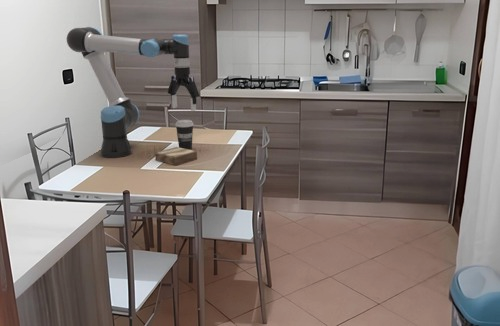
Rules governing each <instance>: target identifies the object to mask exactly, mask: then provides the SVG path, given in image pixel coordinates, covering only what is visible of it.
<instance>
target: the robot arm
mask: <svg viewBox="0 0 500 326" xmlns="http://www.w3.org/2000/svg"><path fill="white" fill-rule="evenodd" d="M189 42H190V41H189V36H188V35H187V34H173V35H172V38H151V39H146V38H145V39H144V38H143V39H142V38H135V37H125V36H124V37H123V36H114V35H103V33H102V32H101V31H100V30H99V29H98V28H96V27H91V26H87V27H74V28H72V29H70V30H69V32H67V35H66V44H67V46H68V47H69V48H70V50H72V51H73V52H76V53H81V55H82V57H83V59H85V60H87V61H88V62H89V64H90V66H91V69H92V70H93V72H94V74H95V77H96V78H97V80H98V83H99V85H100V87H101V89H102V91H103V92H104V95H105V97H106V99H107V100H108V102H109V104H108V106H106V107H104V108H102V109H101V111H100V119H101V131H102V132H101V133H102V143H101V148H100V156H101V157H104V158H121V157H126V156H129V155H131V154H132V152H133V150H132V147H131V144H130V141H129V138H128V132H127V129H128V128H131V127H133V126H134V125H136V124H137V122H138V121H139V119H140V110H139V108H138V107H137V106H136V104H133V103H132V102H131V99H130V98H129V97H126V95H125V92H123V90H122V87H121V85H120V84H119V82H118V79H117V77H116V75H115V73H114V71H113V68H112V66H111V64H110V63H109V61H108V59H107V56H106V54H105V52H106V53H108V52H109V53H115V54H116V53H117V54H125V55H136V56H145V57H148V58H154V57H157V56H161V55H173V61H174V62H173V64H174V75H171V77H170V78H171V79H170V83H169V85H168V91H167V94H169V95H170V98H171V99H170V100H171V107H172V109H175V108H178V99H177V98H178V97H177V91H178V90H179V88H180V87H181V86H182V87H184V88H186V90H187V92H188V93H189V95H190V96H191V97H190V111H191V112H194V111H197V98H198V97H200V92H199V90H198V87H197V84H196V82H195V77H194V76H192V77H191V76H190V75H191V71H190V70H191V69H190V65H191V64H190V63H191V62H190V43H189Z"/></svg>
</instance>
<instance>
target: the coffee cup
mask: <svg viewBox="0 0 500 326" xmlns="http://www.w3.org/2000/svg"><path fill="white" fill-rule="evenodd" d="M194 124H195V123H194V122H193V121H192V119H179V120H177V121H176V123H175V125H174V126H175V128H176V136H177V141H178V142H177V143H178V147H179V148H184V149H188V150H193V137H194V136H193V133H194V132H193V131H194V126H195V125H194Z"/></svg>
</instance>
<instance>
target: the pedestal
mask: <svg viewBox="0 0 500 326" xmlns="http://www.w3.org/2000/svg"><path fill="white" fill-rule="evenodd" d="M154 156H155V161H157V162H161V163H164V164H168V165H172V166H179V165H183V164H186V163H188V162H192V161H194V160H198V153H197V151H195V150H193V149H192V150H188V149H184V148H179V146H176V147H171V148H168V149H164V150H161V151H156V153H155V155H154Z"/></svg>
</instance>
